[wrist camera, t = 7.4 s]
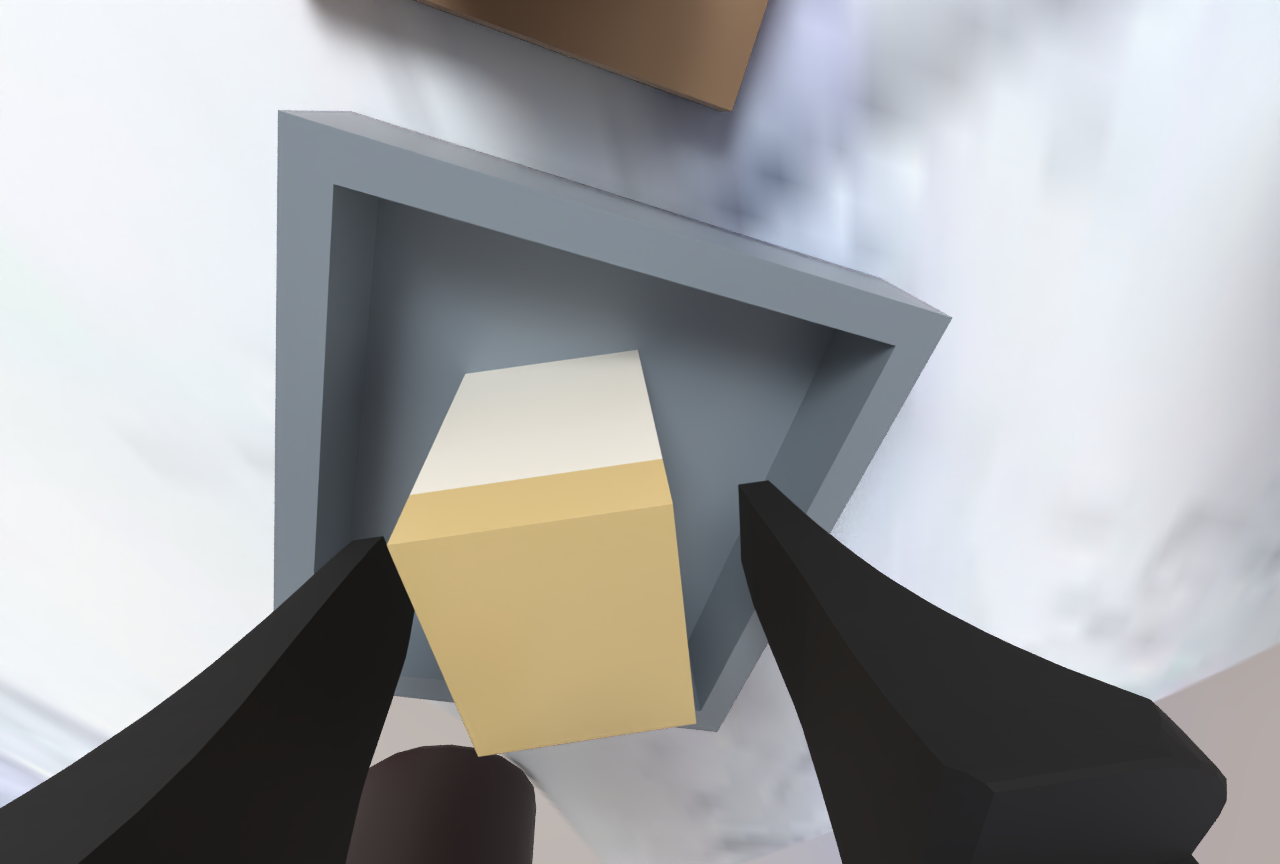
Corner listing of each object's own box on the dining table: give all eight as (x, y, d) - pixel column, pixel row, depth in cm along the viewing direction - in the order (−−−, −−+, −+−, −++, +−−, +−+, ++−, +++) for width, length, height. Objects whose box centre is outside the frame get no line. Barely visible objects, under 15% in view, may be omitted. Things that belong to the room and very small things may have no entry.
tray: (880, 278, 13) (952, 317, 11) (699, 647, 19) (717, 731, 17) (350, 111, 11) (277, 110, 8) (321, 592, 17) (273, 682, 14)
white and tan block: (637, 349, 13) (672, 503, 8) (658, 520, 16) (696, 723, 10) (465, 374, 13) (386, 544, 8) (513, 541, 16) (477, 757, 10)
